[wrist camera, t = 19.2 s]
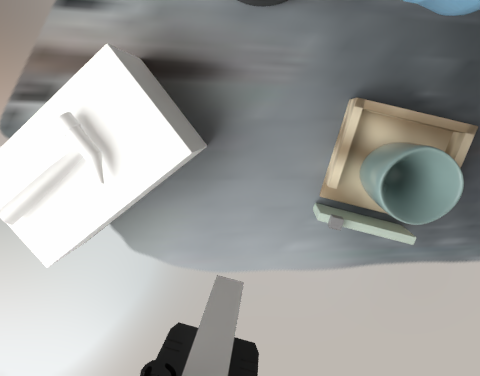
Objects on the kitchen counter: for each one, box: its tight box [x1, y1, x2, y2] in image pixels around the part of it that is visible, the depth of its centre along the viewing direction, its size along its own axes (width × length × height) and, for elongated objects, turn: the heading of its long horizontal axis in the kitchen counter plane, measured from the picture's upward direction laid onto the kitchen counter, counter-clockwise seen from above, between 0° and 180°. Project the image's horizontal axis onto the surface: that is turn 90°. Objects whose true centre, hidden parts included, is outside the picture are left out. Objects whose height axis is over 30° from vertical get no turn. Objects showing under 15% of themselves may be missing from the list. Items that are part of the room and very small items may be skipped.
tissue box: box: [0, 44, 207, 268], centre depth 38 cm, size 14×25×11 cm, turn 127°
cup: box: [359, 142, 464, 225], centre depth 34 cm, size 8×8×10 cm
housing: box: [320, 98, 478, 214], centre depth 37 cm, size 13×14×4 cm
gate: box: [313, 203, 416, 245], centre depth 38 cm, size 1×12×6 cm, turn 77°
